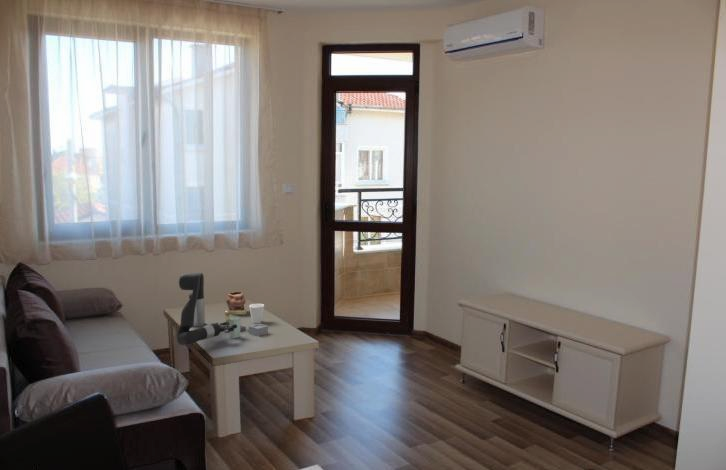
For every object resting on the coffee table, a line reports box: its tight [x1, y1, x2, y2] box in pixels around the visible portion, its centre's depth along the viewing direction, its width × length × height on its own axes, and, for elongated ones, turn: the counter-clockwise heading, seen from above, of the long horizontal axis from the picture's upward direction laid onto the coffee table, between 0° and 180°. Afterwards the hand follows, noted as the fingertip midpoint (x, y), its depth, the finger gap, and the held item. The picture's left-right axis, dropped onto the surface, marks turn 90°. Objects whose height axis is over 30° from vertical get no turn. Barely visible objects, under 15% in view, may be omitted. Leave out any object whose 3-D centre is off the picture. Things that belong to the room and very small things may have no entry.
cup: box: [248, 303, 265, 324], centre depth 394 cm, size 10×10×11 cm
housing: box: [248, 323, 269, 337], centre depth 370 cm, size 8×8×5 cm
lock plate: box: [226, 325, 247, 333], centre depth 378 cm, size 13×9×2 cm
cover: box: [228, 317, 241, 339], centre depth 363 cm, size 5×5×11 cm
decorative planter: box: [225, 291, 246, 311], centre depth 417 cm, size 20×12×14 cm, turn 37°
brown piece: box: [224, 309, 247, 325], centre depth 381 cm, size 13×3×9 cm, turn 94°
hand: (231, 324), depth 361 cm, fingers open, 8 cm apart
